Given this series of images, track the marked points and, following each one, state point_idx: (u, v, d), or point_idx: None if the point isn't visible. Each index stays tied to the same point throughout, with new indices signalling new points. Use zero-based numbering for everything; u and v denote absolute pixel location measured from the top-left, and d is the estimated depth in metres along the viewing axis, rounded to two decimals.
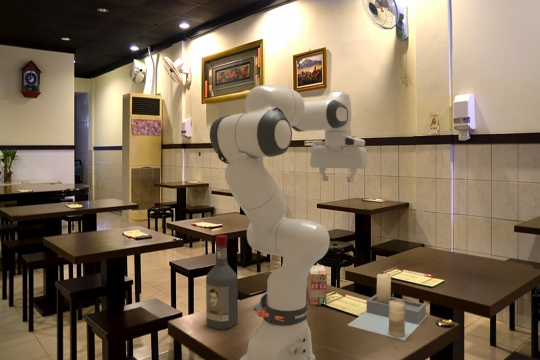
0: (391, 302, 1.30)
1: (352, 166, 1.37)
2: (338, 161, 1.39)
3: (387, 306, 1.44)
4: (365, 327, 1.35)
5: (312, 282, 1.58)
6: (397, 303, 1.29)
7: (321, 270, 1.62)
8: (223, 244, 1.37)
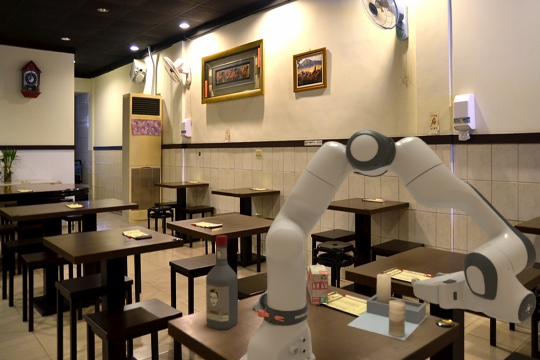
0: (391, 302, 1.30)
1: (423, 280, 1.12)
2: (441, 278, 1.13)
3: (387, 306, 1.44)
4: (365, 327, 1.35)
5: (313, 282, 1.59)
6: (398, 303, 1.29)
7: (322, 270, 1.63)
8: (223, 244, 1.37)
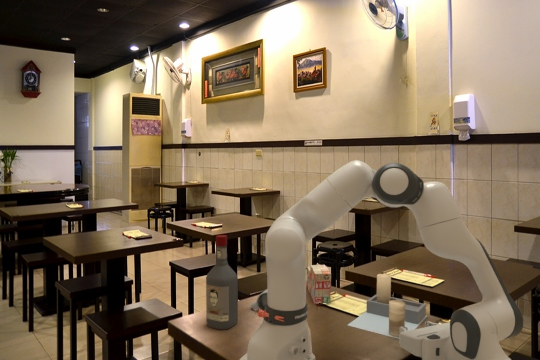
0: (391, 302, 1.30)
1: (409, 330, 1.15)
2: (428, 330, 1.16)
3: (387, 306, 1.44)
4: (365, 327, 1.35)
5: (316, 282, 1.59)
6: (397, 303, 1.29)
7: (324, 269, 1.63)
8: (223, 244, 1.37)
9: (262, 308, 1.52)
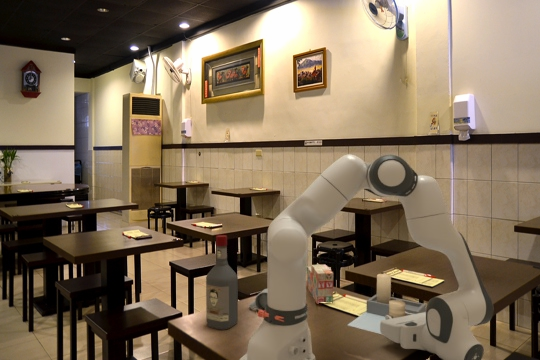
0: (391, 302, 1.30)
1: (390, 319, 1.23)
2: (407, 318, 1.24)
3: (387, 306, 1.44)
4: (365, 327, 1.35)
5: (319, 281, 1.59)
6: (397, 303, 1.29)
7: (326, 269, 1.64)
8: (223, 244, 1.37)
9: (260, 308, 1.53)
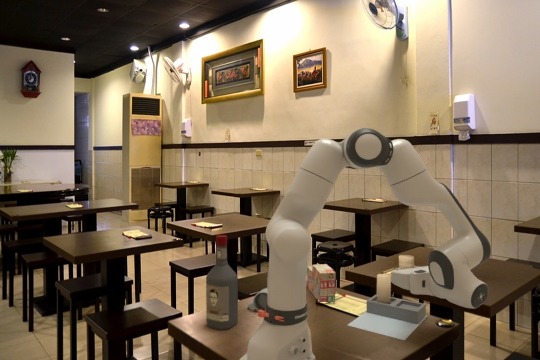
0: (401, 256, 1.37)
1: (400, 269, 1.30)
2: (416, 269, 1.31)
3: (387, 306, 1.44)
4: (365, 327, 1.35)
5: (321, 281, 1.60)
6: (407, 256, 1.36)
7: (328, 269, 1.64)
8: (223, 244, 1.37)
9: (259, 308, 1.53)
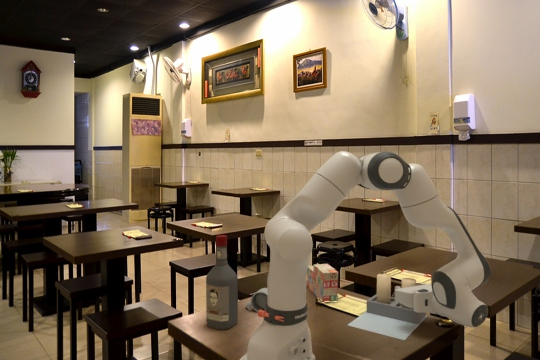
0: (403, 279, 1.43)
1: (403, 288, 1.37)
2: (419, 287, 1.37)
3: (387, 306, 1.44)
4: (365, 327, 1.35)
5: (324, 281, 1.60)
6: (409, 280, 1.43)
7: (330, 268, 1.65)
8: (223, 244, 1.37)
9: (256, 307, 1.53)
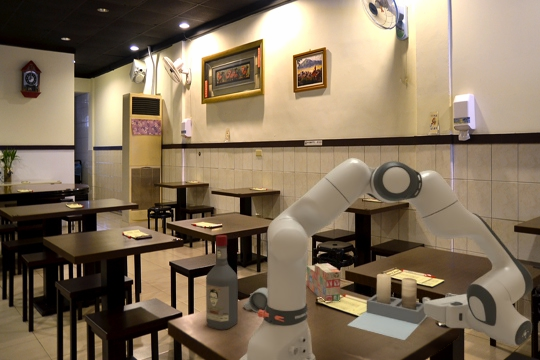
0: (404, 280, 1.43)
1: (433, 300, 1.25)
2: (450, 299, 1.26)
3: (387, 306, 1.44)
4: (365, 327, 1.35)
5: (327, 280, 1.61)
6: (410, 280, 1.43)
7: (332, 268, 1.66)
8: (223, 244, 1.37)
9: (254, 307, 1.53)
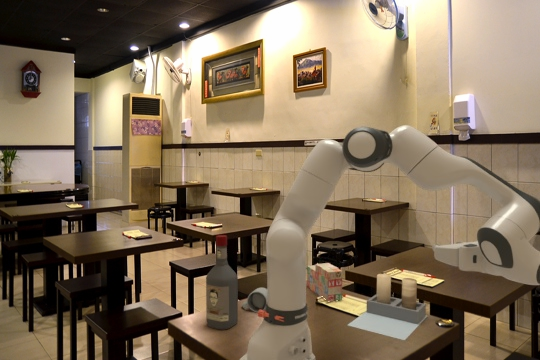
0: (404, 280, 1.43)
1: (444, 245, 1.16)
2: (462, 244, 1.17)
3: (387, 306, 1.44)
4: (365, 327, 1.35)
5: (329, 280, 1.61)
6: (410, 280, 1.43)
7: (333, 267, 1.66)
8: (223, 244, 1.37)
9: (253, 307, 1.53)
